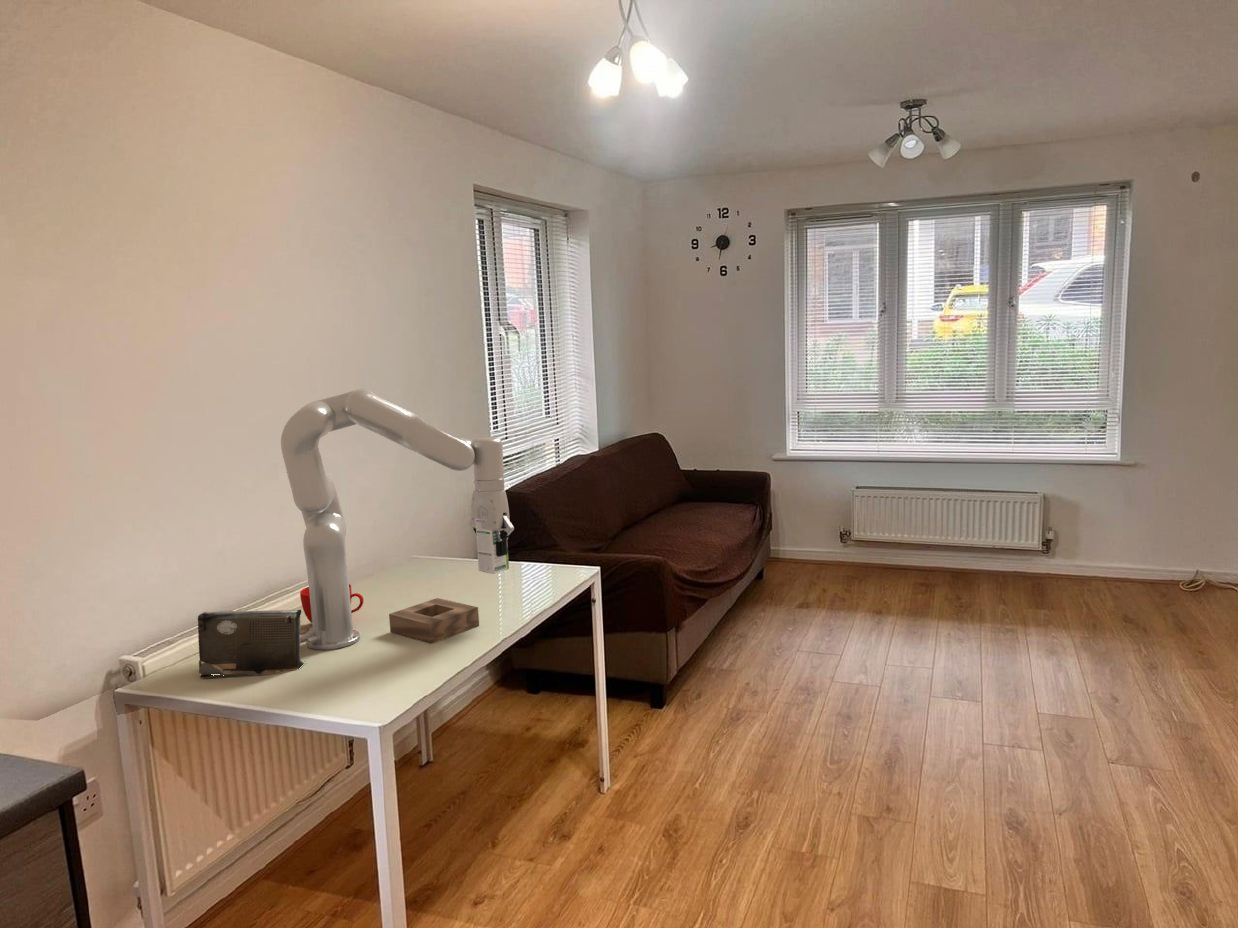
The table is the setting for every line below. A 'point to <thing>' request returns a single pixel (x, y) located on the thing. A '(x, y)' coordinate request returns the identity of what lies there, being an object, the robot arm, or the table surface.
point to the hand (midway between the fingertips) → (492, 553)
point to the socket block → (434, 620)
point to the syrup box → (489, 551)
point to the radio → (248, 642)
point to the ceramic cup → (307, 607)
